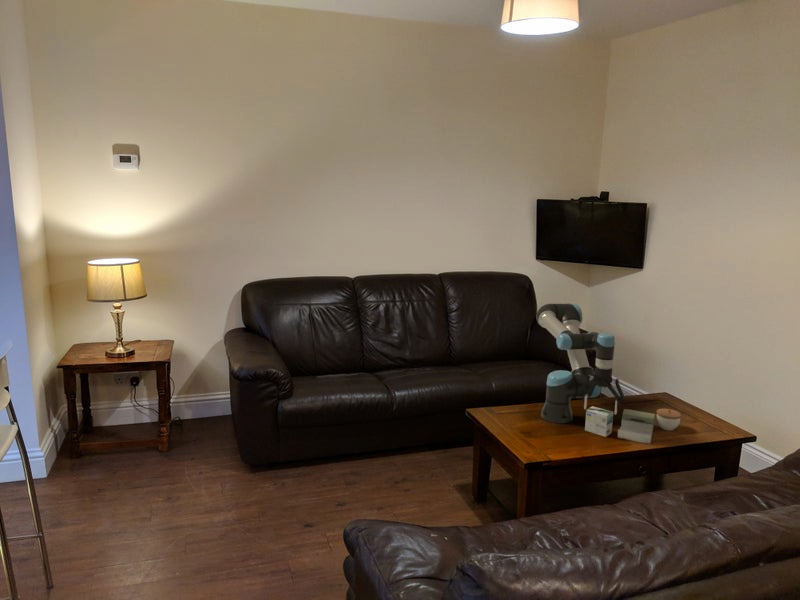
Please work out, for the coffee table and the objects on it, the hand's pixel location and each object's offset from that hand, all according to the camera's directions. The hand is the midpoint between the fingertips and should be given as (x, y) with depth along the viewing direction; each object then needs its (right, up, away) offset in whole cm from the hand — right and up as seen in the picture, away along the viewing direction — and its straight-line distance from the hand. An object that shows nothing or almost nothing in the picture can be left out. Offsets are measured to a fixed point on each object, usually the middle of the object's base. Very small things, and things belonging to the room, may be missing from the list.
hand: (600, 410), depth 280 cm
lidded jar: (+35, -10, +9) cm, 37 cm away
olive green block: (+22, -9, +11) cm, 26 cm away
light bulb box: (0, -11, +2) cm, 11 cm away
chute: (+16, -11, 0) cm, 20 cm away
